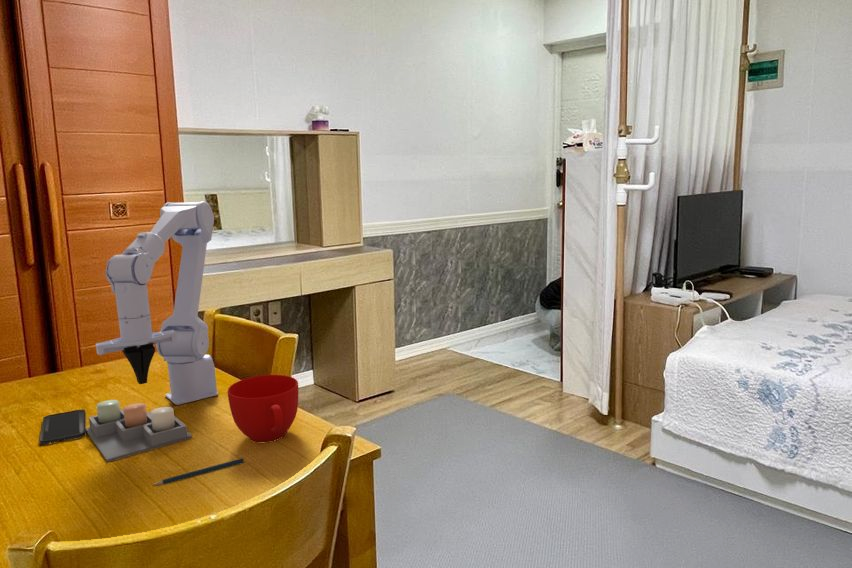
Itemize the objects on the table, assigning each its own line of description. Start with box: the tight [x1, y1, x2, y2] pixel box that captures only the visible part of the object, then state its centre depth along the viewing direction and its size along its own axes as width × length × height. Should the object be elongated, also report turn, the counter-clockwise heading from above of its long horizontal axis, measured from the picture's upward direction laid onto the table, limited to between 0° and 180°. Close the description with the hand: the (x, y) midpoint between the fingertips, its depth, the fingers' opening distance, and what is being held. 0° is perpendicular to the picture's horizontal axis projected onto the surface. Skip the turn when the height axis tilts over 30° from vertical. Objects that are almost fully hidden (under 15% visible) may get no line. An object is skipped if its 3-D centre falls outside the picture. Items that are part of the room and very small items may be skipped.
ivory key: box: [150, 406, 175, 431], centre depth 125 cm, size 4×4×3 cm
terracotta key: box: [122, 402, 148, 427], centre depth 127 cm, size 4×4×3 cm
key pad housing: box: [85, 408, 193, 463], centre depth 128 cm, size 15×18×3 cm
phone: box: [39, 408, 87, 445], centre depth 132 cm, size 8×1×15 cm
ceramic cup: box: [227, 374, 299, 443], centre depth 122 cm, size 13×17×10 cm
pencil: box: [152, 458, 245, 486], centre depth 111 cm, size 1×1×15 cm
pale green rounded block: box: [96, 399, 121, 423], centre depth 129 cm, size 4×4×3 cm
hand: (142, 382), depth 130 cm, fingers closed
